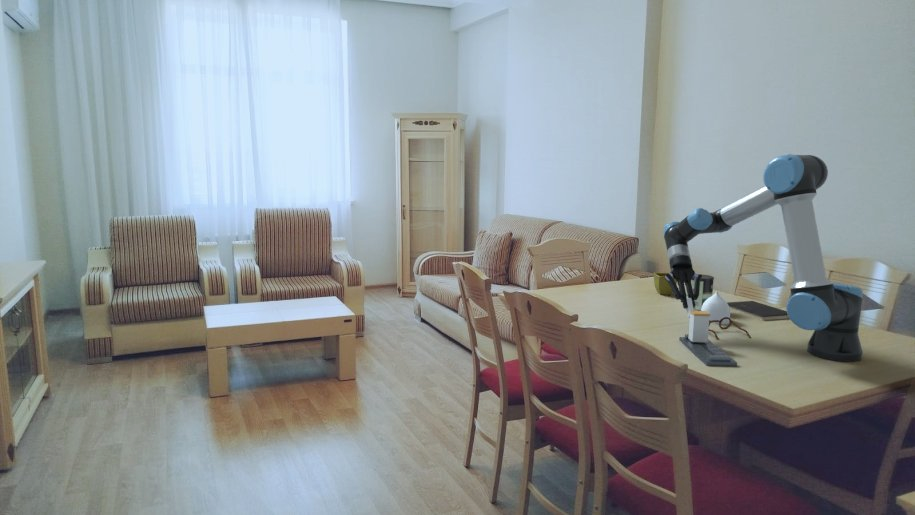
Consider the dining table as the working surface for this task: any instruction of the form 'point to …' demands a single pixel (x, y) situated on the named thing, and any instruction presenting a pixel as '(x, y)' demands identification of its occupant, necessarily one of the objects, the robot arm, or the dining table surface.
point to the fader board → (708, 352)
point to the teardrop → (717, 308)
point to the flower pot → (662, 284)
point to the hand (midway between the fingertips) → (691, 316)
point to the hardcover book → (758, 310)
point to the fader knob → (699, 326)
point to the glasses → (727, 326)
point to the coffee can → (703, 290)
